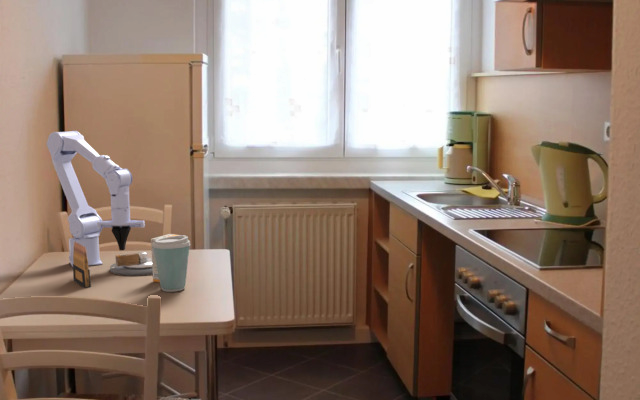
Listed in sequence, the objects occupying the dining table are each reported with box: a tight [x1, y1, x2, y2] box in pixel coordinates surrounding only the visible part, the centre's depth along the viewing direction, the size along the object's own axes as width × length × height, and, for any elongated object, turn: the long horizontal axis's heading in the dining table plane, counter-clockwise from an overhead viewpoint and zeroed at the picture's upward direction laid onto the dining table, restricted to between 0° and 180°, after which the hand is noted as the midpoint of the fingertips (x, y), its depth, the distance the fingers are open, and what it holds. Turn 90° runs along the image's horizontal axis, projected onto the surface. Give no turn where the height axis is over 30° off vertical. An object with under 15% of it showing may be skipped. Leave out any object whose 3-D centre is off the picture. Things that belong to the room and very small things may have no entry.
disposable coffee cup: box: [152, 234, 191, 293], centre depth 217 cm, size 11×11×15 cm
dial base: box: [109, 262, 153, 277], centre depth 245 cm, size 20×20×1 cm
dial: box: [115, 251, 152, 269], centre depth 243 cm, size 14×12×4 cm
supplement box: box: [150, 233, 179, 283], centre depth 229 cm, size 8×5×13 cm, turn 149°
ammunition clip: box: [72, 242, 92, 289], centre depth 225 cm, size 11×2×12 cm, turn 34°
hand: (122, 249), depth 245 cm, fingers closed
